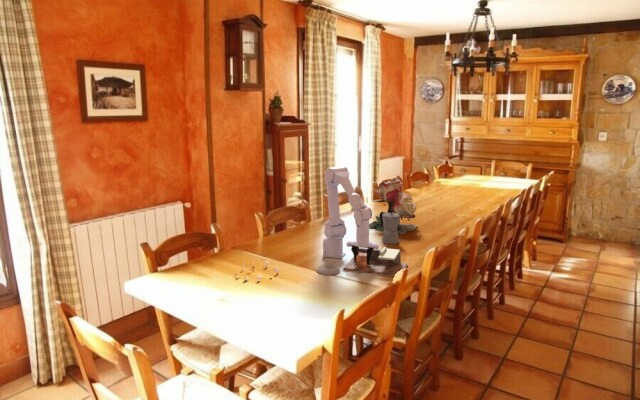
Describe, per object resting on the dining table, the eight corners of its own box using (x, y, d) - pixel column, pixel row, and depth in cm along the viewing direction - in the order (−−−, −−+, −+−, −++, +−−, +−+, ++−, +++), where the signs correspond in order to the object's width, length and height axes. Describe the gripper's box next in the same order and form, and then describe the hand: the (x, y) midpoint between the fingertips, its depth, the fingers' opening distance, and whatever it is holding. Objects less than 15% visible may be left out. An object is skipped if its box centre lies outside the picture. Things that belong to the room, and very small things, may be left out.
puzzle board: (343, 270, 205) (343, 256, 204) (352, 260, 219) (352, 246, 218) (401, 277, 196) (401, 262, 195) (407, 265, 210) (407, 252, 209)
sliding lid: (378, 258, 200) (378, 253, 199) (384, 249, 212) (384, 245, 211) (394, 260, 198) (394, 255, 197) (399, 251, 209) (399, 246, 209)
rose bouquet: (408, 236, 258) (409, 183, 252) (364, 228, 275) (364, 179, 270) (427, 226, 278) (429, 177, 272) (385, 220, 295) (385, 174, 290)
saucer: (314, 273, 202) (314, 271, 201) (321, 266, 211) (321, 264, 211) (335, 276, 198) (335, 274, 198) (342, 268, 207) (342, 266, 207)
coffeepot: (405, 243, 245) (406, 210, 241) (392, 246, 240) (392, 212, 236) (386, 236, 257) (386, 205, 254) (373, 239, 252) (373, 207, 249)
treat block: (356, 268, 208) (356, 255, 207) (359, 264, 212) (359, 252, 211) (366, 269, 206) (366, 256, 205) (368, 266, 210) (368, 253, 209)
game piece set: (257, 264, 216) (257, 256, 215) (288, 273, 204) (288, 265, 203) (224, 276, 201) (224, 267, 201) (256, 286, 189) (255, 277, 188)
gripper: (344, 235, 205) (344, 263, 208) (376, 237, 200) (376, 267, 203) (349, 231, 211) (349, 259, 214) (380, 233, 206) (379, 262, 209)
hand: (362, 262), depth 209 cm, fingers closed on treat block, 4 cm apart
